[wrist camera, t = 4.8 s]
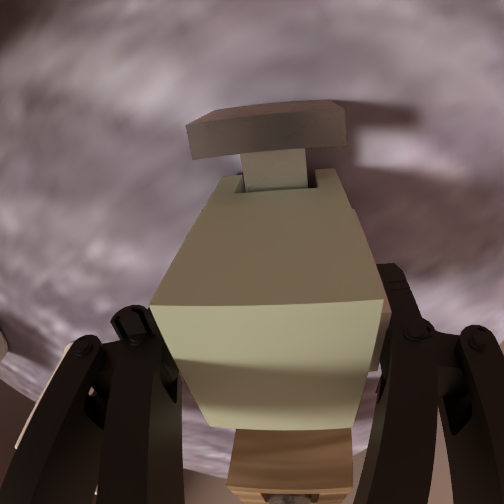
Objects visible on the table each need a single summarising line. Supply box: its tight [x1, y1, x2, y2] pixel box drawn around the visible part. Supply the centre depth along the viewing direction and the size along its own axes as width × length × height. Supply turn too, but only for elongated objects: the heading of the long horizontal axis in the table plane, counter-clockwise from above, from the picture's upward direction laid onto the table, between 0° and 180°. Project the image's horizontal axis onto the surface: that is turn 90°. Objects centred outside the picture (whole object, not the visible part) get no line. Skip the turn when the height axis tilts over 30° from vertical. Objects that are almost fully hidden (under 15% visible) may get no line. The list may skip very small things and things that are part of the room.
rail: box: [186, 100, 347, 193], centre depth 15 cm, size 19×5×4 cm, turn 8°
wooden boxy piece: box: [226, 428, 353, 504], centre depth 20 cm, size 7×8×9 cm
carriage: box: [149, 169, 384, 430], centre depth 11 cm, size 6×5×8 cm
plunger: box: [269, 494, 312, 504], centre depth 16 cm, size 4×4×7 cm
